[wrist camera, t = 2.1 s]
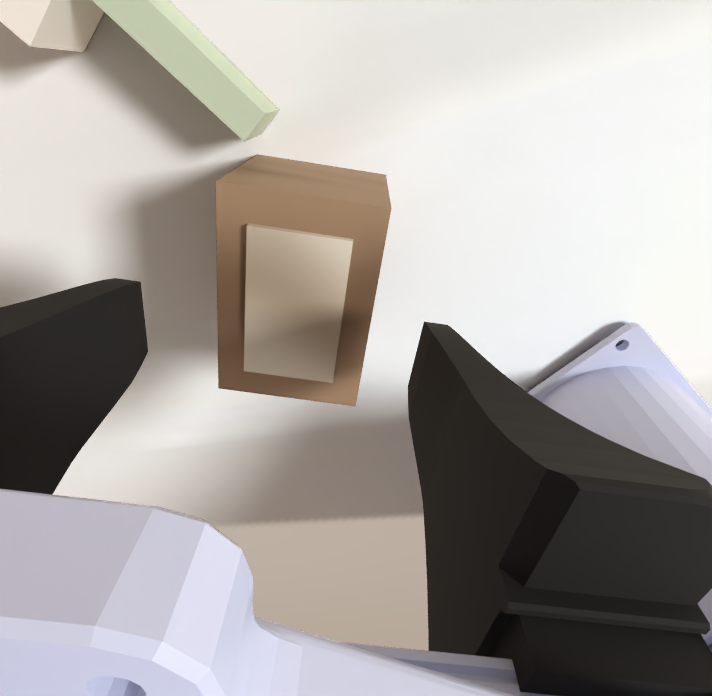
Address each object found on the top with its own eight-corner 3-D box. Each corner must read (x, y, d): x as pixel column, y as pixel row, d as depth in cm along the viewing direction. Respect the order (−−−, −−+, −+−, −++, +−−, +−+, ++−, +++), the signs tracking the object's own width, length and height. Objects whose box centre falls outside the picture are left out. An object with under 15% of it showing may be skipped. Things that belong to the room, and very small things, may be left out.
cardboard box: (358, 333, 19) (355, 410, 15) (253, 318, 19) (216, 391, 14) (385, 174, 16) (391, 210, 11) (258, 153, 16) (213, 182, 11)
